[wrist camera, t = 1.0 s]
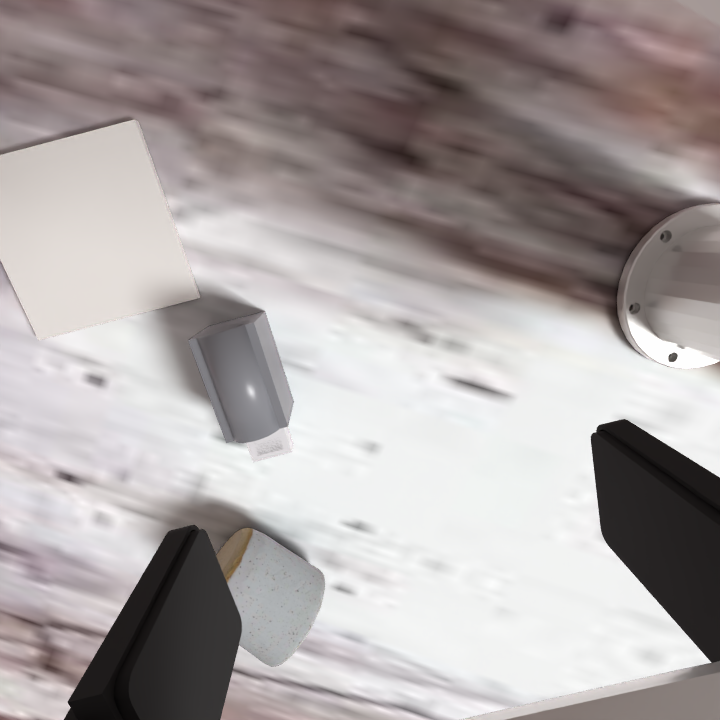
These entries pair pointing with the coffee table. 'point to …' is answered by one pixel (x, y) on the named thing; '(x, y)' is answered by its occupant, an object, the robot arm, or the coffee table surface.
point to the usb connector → (246, 384)
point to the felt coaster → (89, 231)
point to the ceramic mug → (270, 594)
